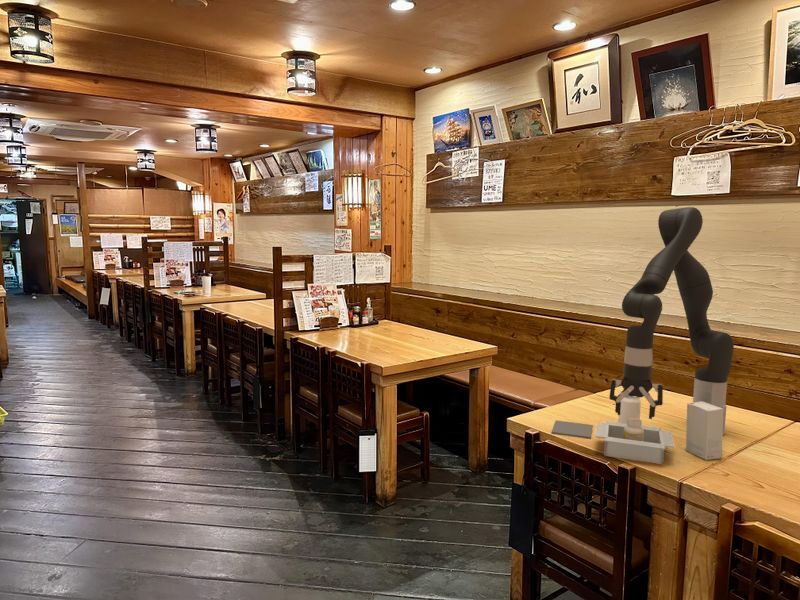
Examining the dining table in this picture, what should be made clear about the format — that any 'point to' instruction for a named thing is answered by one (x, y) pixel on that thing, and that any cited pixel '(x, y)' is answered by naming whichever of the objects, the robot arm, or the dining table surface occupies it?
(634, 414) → the can
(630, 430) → the supplement bottle
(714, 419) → the skincare box
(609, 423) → the carton
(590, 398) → the dining table surface
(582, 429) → the mat
